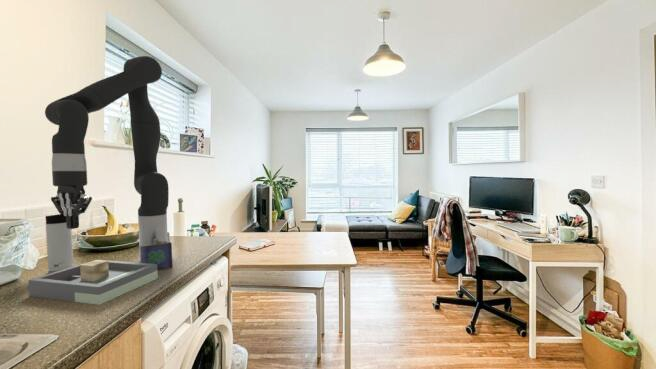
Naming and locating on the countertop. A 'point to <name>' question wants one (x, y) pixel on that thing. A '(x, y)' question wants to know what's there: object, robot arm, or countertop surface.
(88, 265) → the maple cube
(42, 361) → the countertop surface
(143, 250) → the flask
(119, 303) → the countertop surface
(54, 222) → the travel mug
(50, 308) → the countertop surface
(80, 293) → the tray
